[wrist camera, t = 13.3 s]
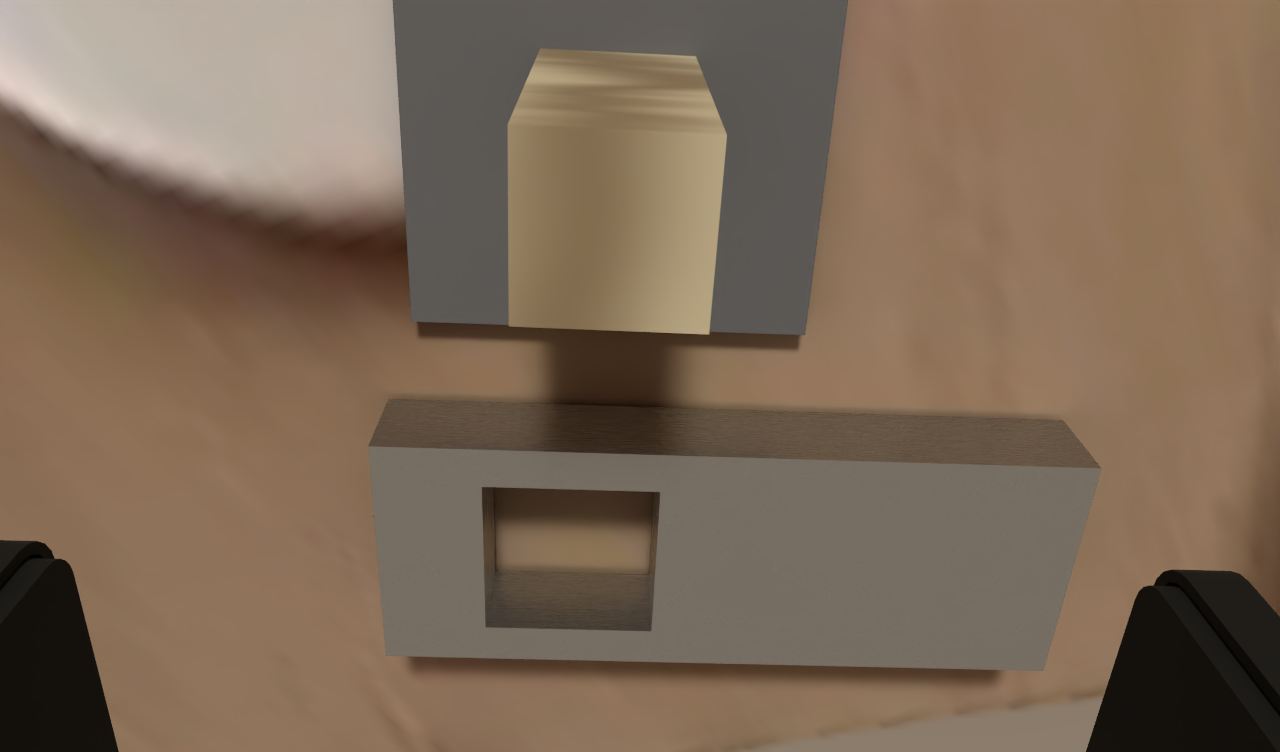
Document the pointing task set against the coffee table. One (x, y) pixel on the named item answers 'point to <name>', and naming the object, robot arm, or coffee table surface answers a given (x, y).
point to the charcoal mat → (629, 23)
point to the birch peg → (614, 193)
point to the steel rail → (736, 535)
